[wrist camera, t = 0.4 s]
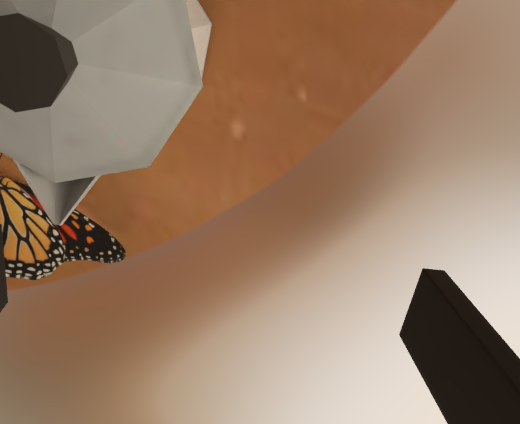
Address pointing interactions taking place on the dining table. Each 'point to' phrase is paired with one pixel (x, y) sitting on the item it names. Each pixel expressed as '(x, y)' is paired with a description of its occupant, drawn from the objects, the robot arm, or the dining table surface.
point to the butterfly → (47, 236)
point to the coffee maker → (94, 88)
